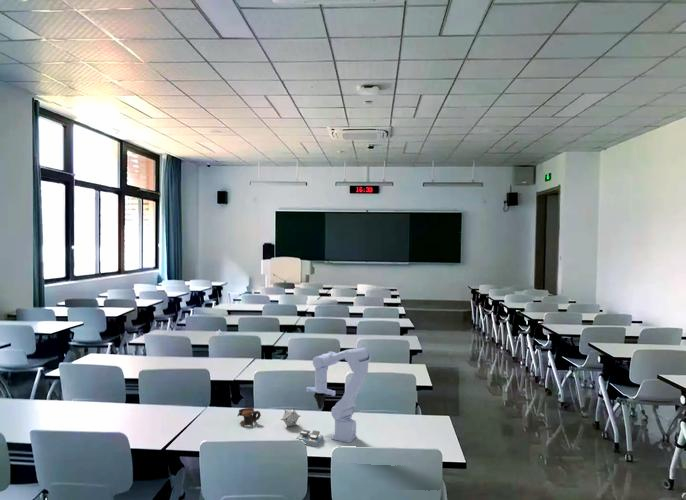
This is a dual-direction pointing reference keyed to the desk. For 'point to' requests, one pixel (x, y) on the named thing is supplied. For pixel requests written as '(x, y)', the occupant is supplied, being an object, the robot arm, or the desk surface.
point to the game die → (290, 417)
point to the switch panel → (311, 441)
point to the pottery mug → (249, 416)
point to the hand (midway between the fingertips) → (320, 408)
